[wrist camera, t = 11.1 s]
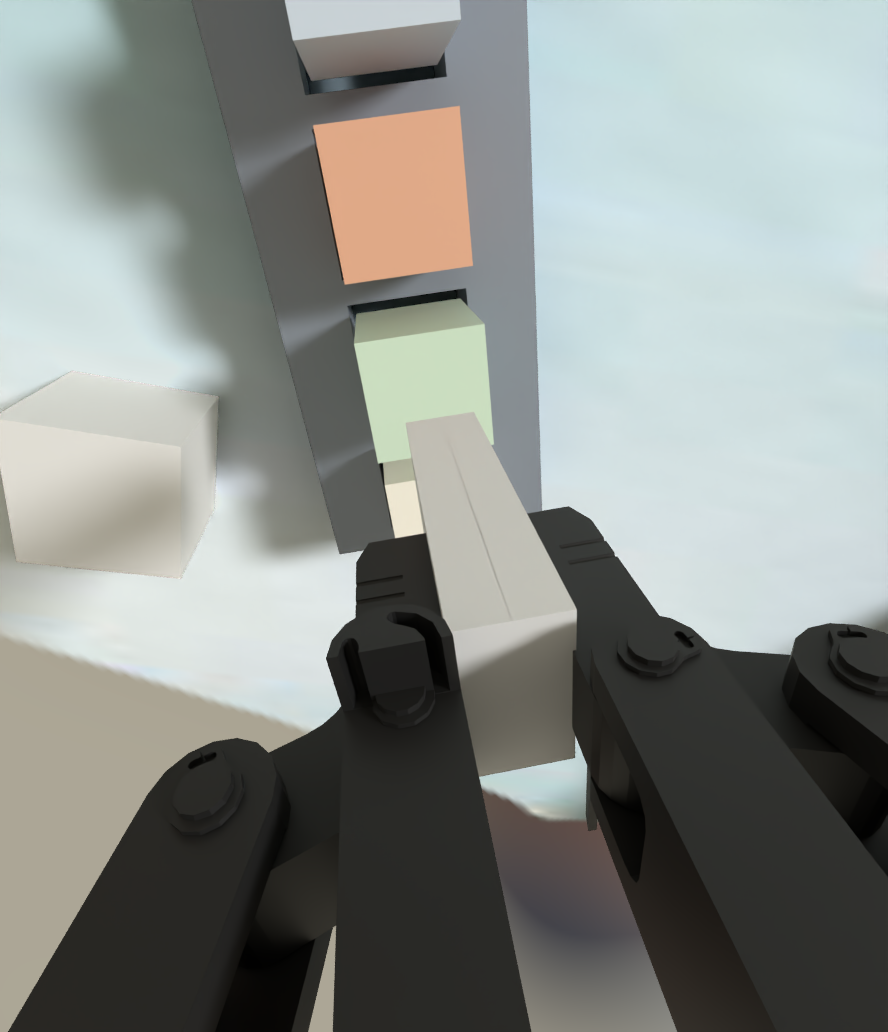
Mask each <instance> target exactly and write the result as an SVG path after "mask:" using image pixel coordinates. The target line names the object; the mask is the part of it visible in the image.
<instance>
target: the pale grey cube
mask: <svg viewBox="0 0 888 1032" xmlns="http://www.w3.org/2000/svg"><path fill="white" fill-rule="evenodd" d="M218 405H219V396H214V395H208V394H202V393H197V392H191V391H185V390H179V389H174V388H168V387H162V386H157V385H151V384H145V383H140V382H134V381H128V380H122V379H117V378H111V377H105V376H100V375H94V374H88V373H82V372H77V371H71V372H69V373H68V374H66V375H64V376H63V377H61V378H59V379H57V380H56V381H54V382H52V383H51V384H49V385H47V386H45V387H44V388H42V389H40V390H38V391H37V392H35V393H33V394H32V395H30V396H28V397H26V398H25V399H23V400H21V401H20V402H18V403H16V404H14V405H13V406H11V407H9V408H8V409H6V410H4V411H2V412H1V413H0V470H1V476H2V482H3V487H4V493H5V499H6V505H7V510H8V516H9V522H10V528H11V533H12V539H13V545H14V551H15V556H16V562H21V563H31V564H41V565H50V566H60V567H70V568H79V569H89V570H99V571H109V572H118V573H128V574H138V575H148V576H157V577H167V578H177V579H181V578H182V576H183V574H184V572H185V570H186V568H187V566H188V564H189V562H190V560H191V557H192V555H193V553H194V551H195V549H196V547H197V545H198V543H199V541H200V539H201V537H202V535H203V533H204V531H205V529H206V527H207V525H208V522H209V520H210V518H211V516H212V514H213V512H214V510H215V493H216V464H217V434H218Z"/></svg>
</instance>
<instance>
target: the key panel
mask: <svg viewBox="0 0 888 1032" xmlns="http://www.w3.org/2000/svg"><path fill="white" fill-rule="evenodd" d="M192 4H193V8H194V11H195V15H196V19H197V23H198V26H199V30H200V34H201V38H202V41H203V45H204V49H205V53H206V56H207V60H208V64H209V68H210V71H211V75H212V79H213V82H214V86H215V90H216V94H217V97H218V101H219V105H220V109H221V112H222V116H223V120H224V124H225V127H226V131H227V135H228V139H229V142H230V146H231V150H232V153H233V157H234V161H235V165H236V168H237V172H238V176H239V180H240V183H241V187H242V191H243V195H244V198H245V202H246V206H247V210H248V213H249V217H250V221H251V224H252V228H253V232H254V236H255V239H256V243H257V247H258V251H259V254H260V258H261V262H262V266H263V269H264V273H265V277H266V281H267V284H268V288H269V292H270V295H271V299H272V303H273V307H274V310H275V314H276V318H277V322H278V325H279V329H280V333H281V337H282V340H283V344H284V348H285V352H286V355H287V359H288V363H289V367H290V370H291V374H292V378H293V381H294V385H295V389H296V393H297V396H298V400H299V404H300V408H301V411H302V415H303V419H304V423H305V426H306V430H307V434H308V438H309V441H310V445H311V449H312V452H313V456H314V460H315V464H316V467H317V471H318V475H319V479H320V482H321V486H322V490H323V494H324V497H325V501H326V505H327V509H328V512H329V516H330V520H331V524H332V527H333V531H334V535H335V538H336V542H337V546H338V550H339V553H340V554H345V553H351V552H357V551H362V550H365V548H366V546H367V545H368V543H371V542H376V541H382V540H388V539H394V538H395V535H394V530H393V525H392V520H391V515H390V510H389V504H388V499H387V494H386V489H385V482H384V468H383V463H378V461H377V456H376V451H375V446H374V441H373V436H372V431H371V426H370V421H369V416H368V411H367V406H366V401H365V396H364V391H363V386H362V381H361V376H360V371H359V366H358V361H357V356H356V351H355V347H354V337H355V321H354V316H353V311H352V306H351V305H356V304H362V303H369V302H376V301H383V300H389V299H396V298H403V297H410V296H416V295H423V294H430V293H437V292H443V291H450V290H456V292H457V299H459V298H460V299H461V300H462V301H463V302H464V303H465V304H466V305H467V306H468V307H469V308H470V309H471V310H472V311H473V312H474V313H475V314H476V315H477V317H478V318H479V319H480V320H481V321H482V322H483V323H484V324H485V335H486V348H487V361H488V374H489V387H490V400H491V413H492V426H493V439H494V445H491V446H492V448H493V449H494V451H495V453H496V455H497V457H498V459H499V461H500V463H501V465H502V467H503V469H504V471H505V472H506V474H507V476H508V478H509V480H510V482H511V484H512V486H513V488H514V490H515V492H516V494H517V496H518V497H519V499H520V501H521V503H522V505H523V507H524V509H525V511H526V513H533V512H539V511H542V497H541V464H540V430H539V397H538V363H537V330H536V296H535V263H534V229H533V196H532V162H531V129H530V95H529V62H528V28H527V0H460V13H461V21H460V22H459V24H458V26H457V28H456V30H455V32H454V34H453V36H452V38H451V40H450V41H449V43H448V45H447V47H446V49H445V51H444V53H443V55H442V57H441V59H440V60H439V62H438V64H437V65H434V73H435V78H434V79H426V80H418V81H411V82H403V83H395V84H388V85H380V86H372V87H364V88H357V89H349V90H341V91H334V92H326V93H318V94H311V95H310V92H309V87H308V82H307V77H306V72H305V67H304V64H303V62H302V59H301V57H300V55H299V53H298V51H297V48H296V46H295V44H294V42H293V39H292V34H291V29H290V24H289V19H288V14H287V9H286V4H285V0H192ZM455 106H460V117H461V129H462V141H463V153H464V164H465V176H466V188H467V200H468V212H469V224H470V236H471V248H472V260H473V266H469V267H462V268H455V269H448V270H441V271H435V272H428V273H421V274H414V275H407V276H400V277H394V278H387V279H380V280H373V281H366V282H359V283H353V284H346V285H345V283H344V278H343V273H342V268H341V263H340V258H339V253H338V248H337V243H336V238H335V233H334V228H333V223H332V218H331V213H330V208H329V203H328V198H327V193H326V188H325V183H324V178H323V173H322V168H321V163H320V158H319V153H318V148H317V143H316V138H315V133H314V128H313V125H319V124H327V123H334V122H342V121H349V120H357V119H365V118H372V117H380V116H387V115H395V114H402V113H410V112H417V111H425V110H432V109H440V108H448V107H455Z"/></svg>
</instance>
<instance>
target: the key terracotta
mask: <svg viewBox="0 0 888 1032" xmlns="http://www.w3.org/2000/svg"><path fill="white" fill-rule="evenodd" d="M313 128H314V133H315V138H316V143H317V148H318V153H319V158H320V163H321V168H322V173H323V178H324V183H325V188H326V193H327V198H328V203H329V208H330V213H331V218H332V223H333V228H334V233H335V238H336V243H337V248H338V253H339V258H340V263H341V268H342V273H343V278H344V283H345V285H346V284H353V283H359V282H366V281H373V280H380V279H387V278H394V277H400V276H407V275H414V274H421V273H428V272H435V271H441V270H448V269H455V268H462V267H469V266H473V260H472V248H471V236H470V224H469V212H468V200H467V188H466V176H465V164H464V153H463V141H462V129H461V117H460V106H455V107H448V108H440V109H432V110H425V111H417V112H410V113H402V114H395V115H387V116H380V117H372V118H365V119H357V120H349V121H342V122H334V123H327V124H319V125H313Z"/></svg>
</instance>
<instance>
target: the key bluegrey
mask: <svg viewBox="0 0 888 1032" xmlns="http://www.w3.org/2000/svg"><path fill="white" fill-rule="evenodd" d="M285 4H286V9H287V14H288V19H289V24H290V29H291V34H292V39H293V42H294V44H295V46H296V48H297V51H298V53H299V55H300V57H301V59H302V62H303V64H304V66H305V68H306V70H307V72H308V75H309V77H310V79H311V81H315V80H323V79H331V78H338V77H346V76H354V75H362V74H369V73H377V72H385V71H393V70H400V69H408V68H416V67H424V66H432V65H437V64H438V62H439V60H440V59H441V57H442V55H443V53H444V51H445V49H446V47H447V45H448V43H449V41H450V40H451V38H452V36H453V34H454V32H455V30H456V28H457V26H458V24H459V22H460V21H461V13H460V0H285Z"/></svg>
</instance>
